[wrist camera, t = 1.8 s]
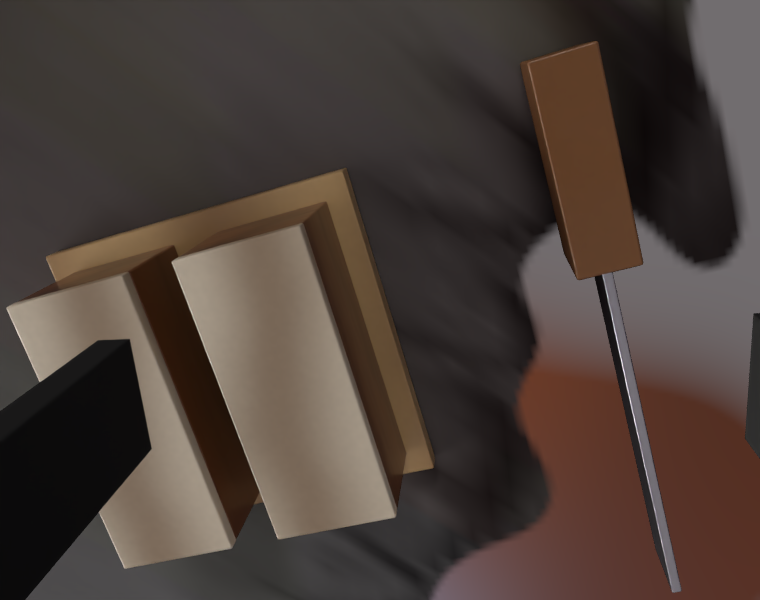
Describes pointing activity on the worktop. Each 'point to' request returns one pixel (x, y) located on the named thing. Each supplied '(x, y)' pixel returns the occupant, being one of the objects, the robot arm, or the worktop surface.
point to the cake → (243, 368)
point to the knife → (595, 222)
